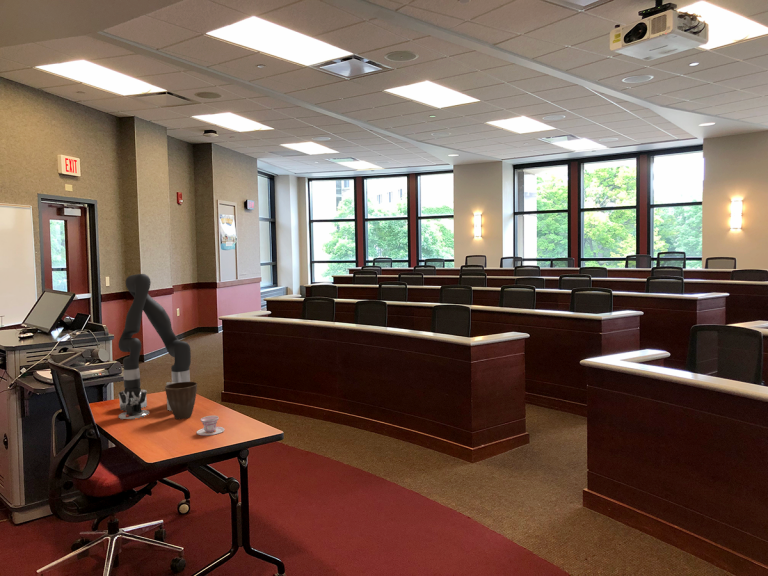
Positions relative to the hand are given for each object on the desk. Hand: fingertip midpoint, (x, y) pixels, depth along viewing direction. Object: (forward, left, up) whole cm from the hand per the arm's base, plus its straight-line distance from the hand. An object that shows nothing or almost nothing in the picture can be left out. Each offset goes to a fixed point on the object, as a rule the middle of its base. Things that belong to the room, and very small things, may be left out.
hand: (133, 411), depth 287 cm
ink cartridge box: (-17, -11, -2) cm, 20 cm away
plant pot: (-27, +2, -2) cm, 27 cm away
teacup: (-51, +23, -2) cm, 56 cm away
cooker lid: (0, 0, -2) cm, 2 cm away
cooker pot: (+9, -14, -2) cm, 17 cm away
